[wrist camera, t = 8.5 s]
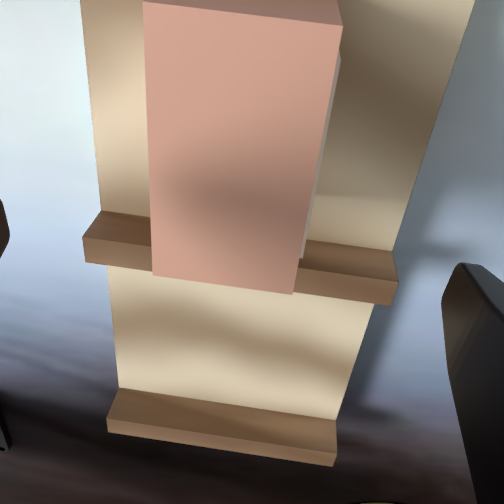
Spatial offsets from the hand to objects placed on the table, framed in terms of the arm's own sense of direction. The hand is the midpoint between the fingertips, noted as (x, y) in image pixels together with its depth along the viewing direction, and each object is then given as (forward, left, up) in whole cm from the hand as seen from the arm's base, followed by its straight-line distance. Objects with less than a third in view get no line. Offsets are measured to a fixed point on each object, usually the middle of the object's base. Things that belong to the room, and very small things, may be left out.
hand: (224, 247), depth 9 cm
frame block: (0, 0, -9) cm, 9 cm away
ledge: (-6, 0, -10) cm, 12 cm away
